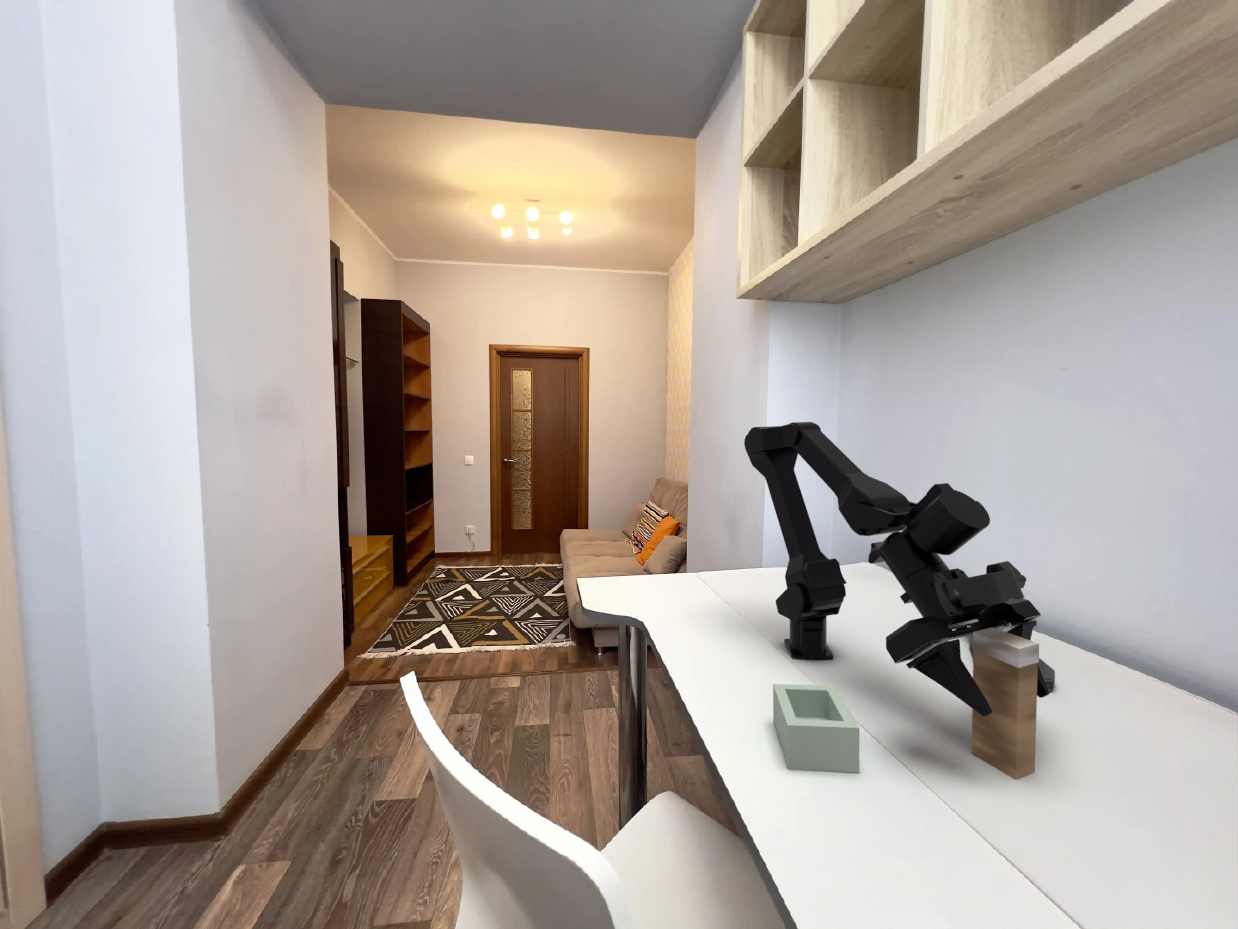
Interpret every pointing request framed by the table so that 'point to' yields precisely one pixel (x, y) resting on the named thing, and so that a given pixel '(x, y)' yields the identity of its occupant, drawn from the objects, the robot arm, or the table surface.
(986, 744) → the rail end
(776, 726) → the post foot
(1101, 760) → the table surface
